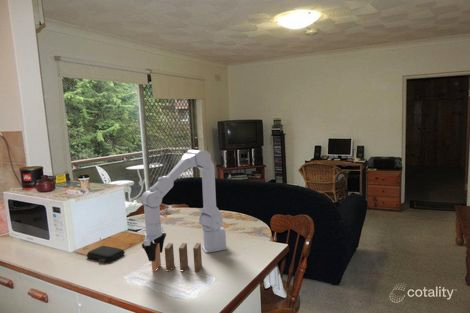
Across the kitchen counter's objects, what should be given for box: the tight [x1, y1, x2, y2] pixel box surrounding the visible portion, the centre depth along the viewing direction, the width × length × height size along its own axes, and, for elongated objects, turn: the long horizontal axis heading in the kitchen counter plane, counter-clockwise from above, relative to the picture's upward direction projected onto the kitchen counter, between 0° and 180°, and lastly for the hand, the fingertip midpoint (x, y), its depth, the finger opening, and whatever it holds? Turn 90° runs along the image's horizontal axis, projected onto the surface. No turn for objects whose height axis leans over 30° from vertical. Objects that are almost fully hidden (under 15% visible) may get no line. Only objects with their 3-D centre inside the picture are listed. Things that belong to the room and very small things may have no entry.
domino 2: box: [178, 242, 189, 272], centre depth 124 cm, size 2×5×9 cm, turn 173°
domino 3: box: [192, 242, 203, 273], centre depth 123 cm, size 2×5×9 cm, turn 173°
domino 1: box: [164, 242, 175, 271], centre depth 124 cm, size 2×5×9 cm, turn 173°
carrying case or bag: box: [86, 245, 126, 263], centre depth 139 cm, size 11×3×15 cm
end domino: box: [151, 243, 162, 271], centre depth 125 cm, size 2×5×9 cm, turn 172°
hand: (155, 256), depth 125 cm, fingers open, 7 cm apart
